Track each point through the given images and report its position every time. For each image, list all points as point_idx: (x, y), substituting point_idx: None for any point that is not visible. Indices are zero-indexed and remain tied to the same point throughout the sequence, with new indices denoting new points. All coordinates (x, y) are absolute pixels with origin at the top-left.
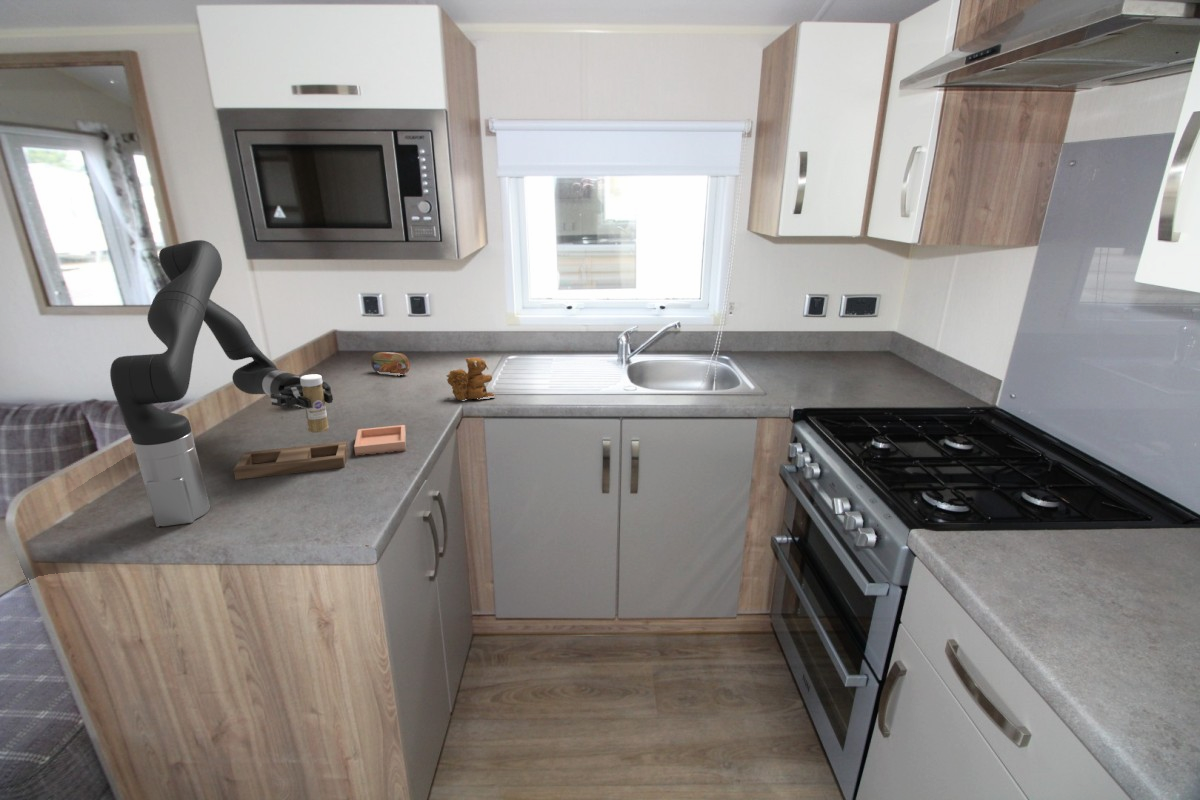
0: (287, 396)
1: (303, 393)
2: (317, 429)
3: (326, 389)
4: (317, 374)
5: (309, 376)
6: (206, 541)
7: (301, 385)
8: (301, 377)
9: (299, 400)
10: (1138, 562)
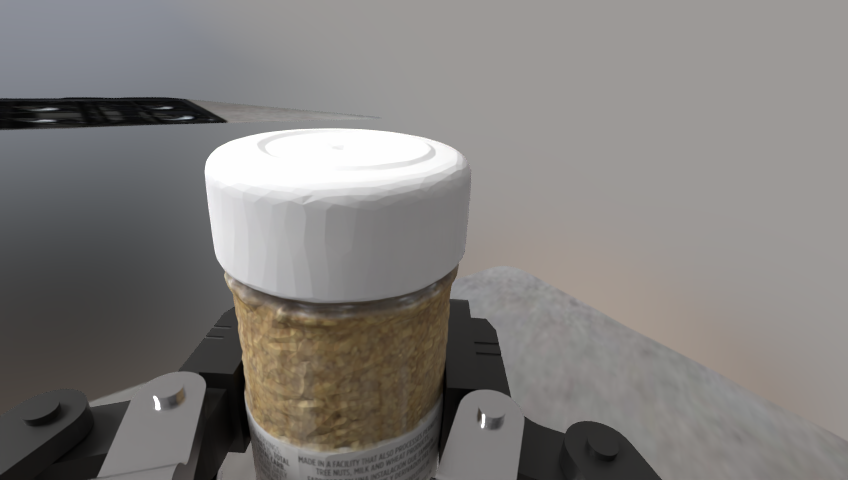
0: (613, 452)
1: (446, 338)
2: None
3: (89, 417)
4: (226, 147)
5: (352, 151)
6: (814, 428)
7: (464, 250)
8: (445, 163)
9: (503, 366)
10: (233, 106)
